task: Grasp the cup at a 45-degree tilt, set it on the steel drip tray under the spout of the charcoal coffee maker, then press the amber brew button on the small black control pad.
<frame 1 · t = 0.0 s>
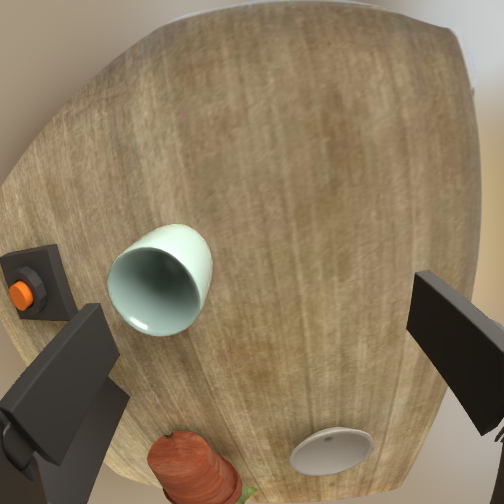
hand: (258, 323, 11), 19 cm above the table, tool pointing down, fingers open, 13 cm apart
brew button: (21, 295, 27), point 4 cm above the table, slide at 0.1 cm
potted plant: (215, 466, 44), on the table
coffee maker: (78, 378, 37), on the table
dish: (327, 434, 40), on the table
control pad: (39, 282, 31), on the table
cup: (182, 251, 30), on the table
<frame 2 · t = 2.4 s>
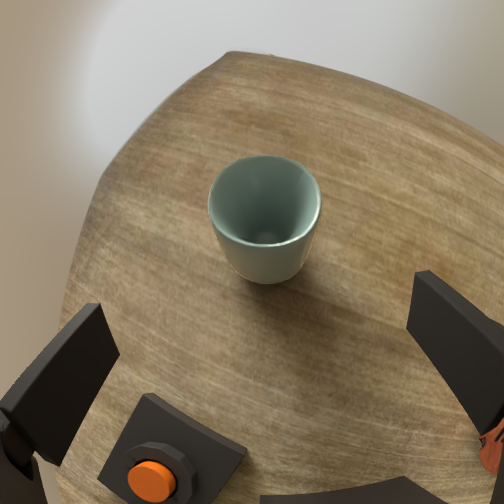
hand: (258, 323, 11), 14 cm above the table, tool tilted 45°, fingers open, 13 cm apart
brew button: (151, 481, 15), point 4 cm above the table, slide at 0.1 cm
control pad: (169, 467, 19), on the table
cup: (267, 256, 27), on the table
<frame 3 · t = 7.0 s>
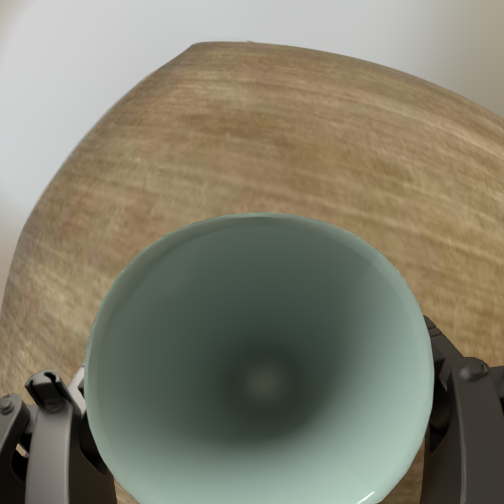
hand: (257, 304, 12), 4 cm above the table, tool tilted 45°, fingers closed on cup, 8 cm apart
cup: (267, 382, 14), on the table, touching gripper
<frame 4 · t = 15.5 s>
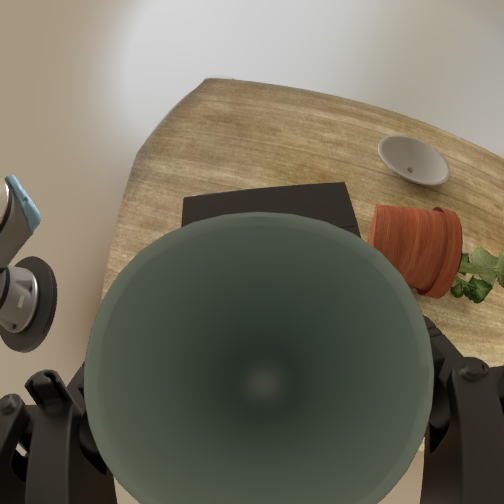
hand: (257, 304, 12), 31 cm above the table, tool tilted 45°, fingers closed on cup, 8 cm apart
potted plant: (441, 275, 43), on the table
coffee maker: (274, 327, 42), on the table
dish: (408, 173, 53), on the table
cup: (267, 382, 14), point 27 cm above the table, touching gripper
when the fingers open (5 cm above the table, at t = 23.9 s): cup stays where it is, resting on coffee maker.
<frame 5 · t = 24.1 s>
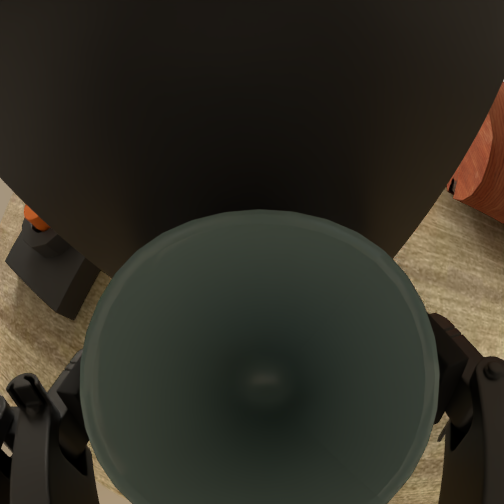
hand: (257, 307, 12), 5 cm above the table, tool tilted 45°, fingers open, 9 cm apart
brew button: (45, 205, 17), point 4 cm above the table, slide at 0.1 cm
coffee maker: (263, 340, 16), on the table
control pad: (74, 234, 21), on the table
cup: (267, 383, 14), point 1 cm above the table, touching coffee maker
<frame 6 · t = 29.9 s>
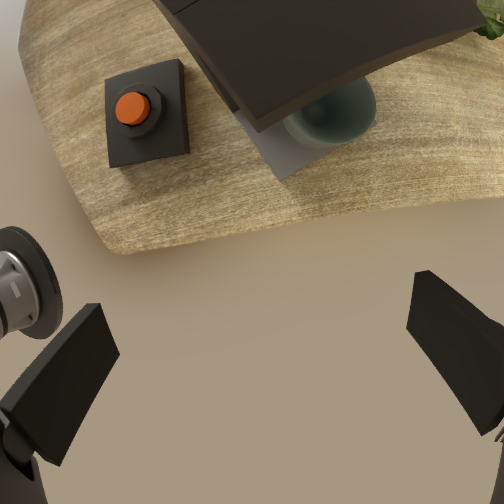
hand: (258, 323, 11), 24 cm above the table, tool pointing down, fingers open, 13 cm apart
brew button: (132, 108, 26), point 4 cm above the table, slide at 0.1 cm
potted plant: (439, 11, 22), on the table
coffee maker: (296, 102, 29), on the table
control pad: (147, 114, 30), on the table
cup: (310, 118, 28), point 1 cm above the table, touching coffee maker
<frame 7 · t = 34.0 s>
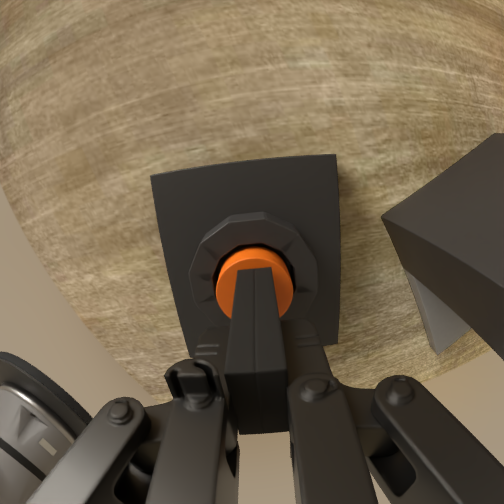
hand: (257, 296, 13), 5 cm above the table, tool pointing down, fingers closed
brew button: (254, 286, 14), point 4 cm above the table, slide at -0.1 cm, touching gripper
coffee maker: (472, 244, 18), on the table
control pad: (253, 257, 18), on the table
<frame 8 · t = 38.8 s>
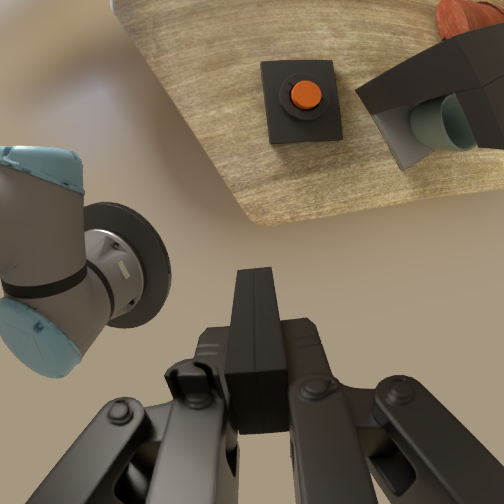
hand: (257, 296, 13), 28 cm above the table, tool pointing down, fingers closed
brew button: (306, 95, 31), point 4 cm above the table, slide at 0.1 cm
potted plant: (486, 46, 28), on the table
coffee maker: (410, 112, 35), on the table
control pad: (300, 101, 35), on the table
cup: (421, 125, 34), point 1 cm above the table, touching coffee maker
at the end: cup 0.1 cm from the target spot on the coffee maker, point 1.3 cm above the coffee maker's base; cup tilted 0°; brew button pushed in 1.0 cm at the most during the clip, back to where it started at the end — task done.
